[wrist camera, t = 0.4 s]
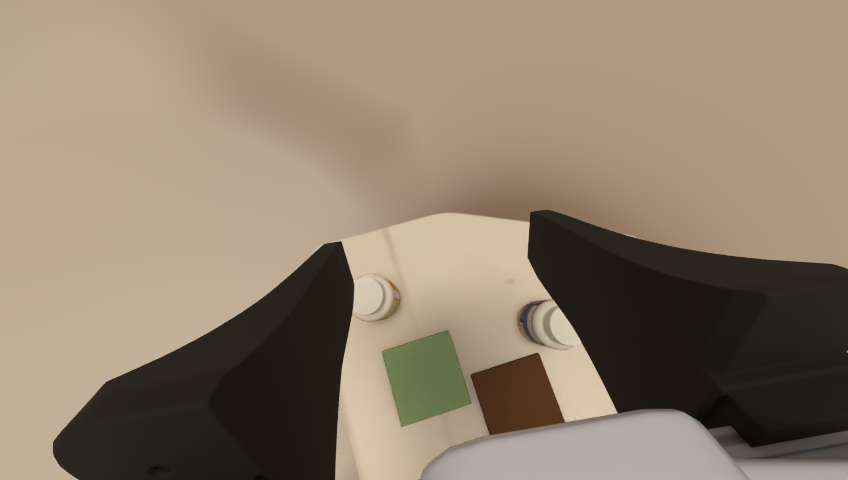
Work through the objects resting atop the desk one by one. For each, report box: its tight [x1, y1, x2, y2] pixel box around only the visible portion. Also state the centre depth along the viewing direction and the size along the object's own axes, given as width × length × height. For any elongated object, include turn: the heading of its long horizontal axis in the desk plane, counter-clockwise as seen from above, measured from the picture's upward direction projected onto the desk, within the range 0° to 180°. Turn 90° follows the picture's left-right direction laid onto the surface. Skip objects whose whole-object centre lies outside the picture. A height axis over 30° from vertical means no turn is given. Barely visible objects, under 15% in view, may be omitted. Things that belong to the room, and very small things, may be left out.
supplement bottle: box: [352, 274, 400, 321], centre depth 36 cm, size 5×5×10 cm
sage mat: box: [382, 330, 471, 427], centre depth 38 cm, size 9×9×1 cm
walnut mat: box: [471, 353, 565, 435], centre depth 37 cm, size 9×9×1 cm
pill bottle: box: [518, 299, 582, 350], centre depth 34 cm, size 5×5×10 cm
